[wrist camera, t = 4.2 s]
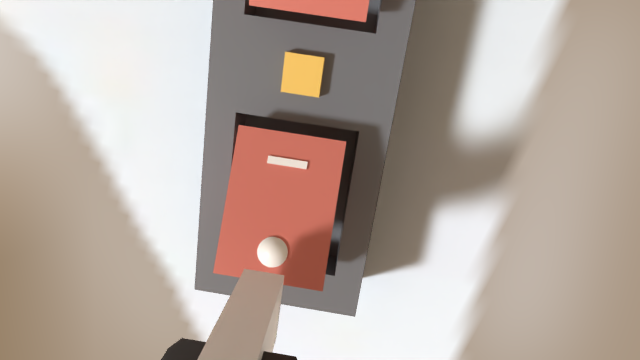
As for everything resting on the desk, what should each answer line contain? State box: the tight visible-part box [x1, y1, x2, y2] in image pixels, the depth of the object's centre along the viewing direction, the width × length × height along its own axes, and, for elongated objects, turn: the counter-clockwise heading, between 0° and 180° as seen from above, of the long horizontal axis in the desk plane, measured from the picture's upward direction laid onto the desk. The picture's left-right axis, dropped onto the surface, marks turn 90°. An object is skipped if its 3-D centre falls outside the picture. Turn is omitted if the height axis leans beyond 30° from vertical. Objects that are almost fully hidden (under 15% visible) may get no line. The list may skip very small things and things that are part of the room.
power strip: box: [195, 0, 416, 316], centre depth 19 cm, size 26×8×4 cm, turn 172°
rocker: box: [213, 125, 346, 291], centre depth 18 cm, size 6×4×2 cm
